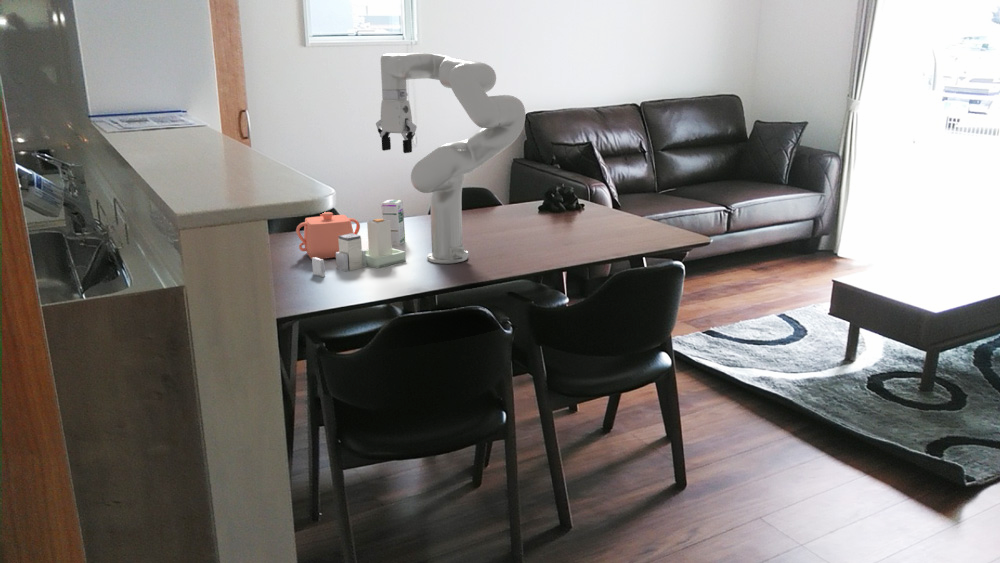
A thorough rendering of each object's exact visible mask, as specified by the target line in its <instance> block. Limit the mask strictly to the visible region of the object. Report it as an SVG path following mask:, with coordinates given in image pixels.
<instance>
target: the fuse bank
mask: <svg viewBox="0 0 1000 563" xmlns="http://www.w3.org/2000/svg"><path fill="white" fill-rule="evenodd" d="M353 233H354V232H353ZM353 233H350V234H345V235H340V236H339V238H338V241H339V252H336V257H335V263H336V264H335V265H336V269H337V270H340V271H343V272H348V271H349V272H350V271H354V270H357V269H363V268H365V267H367V265H366V251H365V250H366V249H363V248H362V247H363V246H362V238H361V235H359V234H357V235H356V234H353ZM311 264H312V275H314V276H316V277H320V278H323V277H326V273H325V271H326V270H325V259H320V258H317V257H313V258H312V259H311Z"/></svg>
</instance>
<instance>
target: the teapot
mask: <svg viewBox="0 0 1000 563" xmlns="http://www.w3.org/2000/svg"><path fill="white" fill-rule="evenodd" d="M352 222H353V223H355V224H356V228H355V230H353V223H352ZM302 227H304V228H303V235H302V233H301V232H300V231H301V230H300V229H301V228H302ZM360 229H361V224H360V222H359V221H358V220H357V219H356V218H351V217H347V215H345V214H336V215H335V214H334V213H333V212H330V211H327V212H326V211H325V212H324V213H322V214H320V213H319V216H311V217H310V216H309V217H305V219H304V221H303V222H300V223H299V224H298V225H297V226H296V229H295V232H296V235H297V237H298V239H299V240H300V241H301V243H299V245H298V249H299V251H301V252H306V254H307V256H308V257H309V258H310V259H311V260H312V258H313V257H317V258H320V259H323V260H326V259H331V258H336V252H339V241H338V238H339V236H340V235H345V234H350V233H353V234H356V235H359V234H358V233H359V232H360ZM303 246H304V247H303Z"/></svg>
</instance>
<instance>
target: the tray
mask: <svg viewBox="0 0 1000 563" xmlns="http://www.w3.org/2000/svg"><path fill="white" fill-rule="evenodd" d="M364 250H365V251H366V266H367V267H368V266H369V267H372V268H375V269H381V268H384V267H388V266H391V265H395V264H400V263H404V262H407V258H406V256H407V255H406V254H407V253H406V251H403V250H402V249H397V248H393V247H392V254H390V255H385V256H381V257H374V256H371V255H369V248H368V249H364Z"/></svg>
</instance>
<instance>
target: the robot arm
mask: <svg viewBox="0 0 1000 563" xmlns="http://www.w3.org/2000/svg"><path fill="white" fill-rule="evenodd" d="M380 70H381V71H380V74H381V75H380V77H381V98H382V99H381V104H380V119H379V120H378V121H377V122H376V123H375V125H376V129H377V132H378V133H379V137H380V138H381V151H384V152H385V151H390V150H391V136H390V134H401V137H402V138H403V140H402V152H403V154H409V153H412V152H413V144H412V142H413V141H412V140H413V139H414V136H416V131H417V128H418V127H417V125H416V124H414V123H413V116H412V110H411V108H412V107H411V104H410V101H409V99H408V96H409V95H408V94H409V93H408V92H407V89H408V88H407V80H420V79H421V80H422V79H423V80H425V79H431V80H435V81H436V80H437V81H439V82H440V84H441V85H442V86H443V87H444V88H448V89H451V90H452V93H453V94H454V96H455V97H456V99H457V100H458V102H459V104H460V105H461V106H462V108H463V109H464V111H465V112H466V114H467V115H468V117H469V119H470V120H471V122H472V123H473V124H475V126H476V127H479V128H481V129H480V130H478V131H477V132H476V133H474V134H473V135H472V136H470V137H468V138H466V139H464V140H459V141H453V142H448V143H445V144H442V145H440V146H438V147H437V148H435V149H434V150H432V151H431V152H429V154H427V155H425V156H424V157H423V158H422V159H420V160H419V161H417V162H416V163H415V165H414V166H413V168H412V170H411V173H410V182H411V184H412V186H413V187H414V189H415V190H417V191H418V192H420V193H423V194H428V193H429V194H430V193H431V197H430V234H431V239H430V240H431V252H430V253H428V254H427V256H426V258H427V260H428V262H430V263H434V264H442V265H443V264H447V265H449V264H456V263H458V264H459V263H460V262H464V261H466V260H468V258H469V256H470V251H468V250H465V245H463V220H462V219H463V217H462V208H463V207H462V204H463V203H462V194H463V193H462V192H463V186H464V185H463V184H464V179H465V175H467V174H470V173H473V172H475V171H476V170H477V169H479V168H480V167H482V166H483V165H485V164H486V163H487V162H489V161H490V160H492V159H493V158H494V157H496V156H497V155H499V154H500V153H501V152H503V151H504V150H506V149H507V148H509V147H510V146H511V145H512V144H513V143H514V142H516V140H517V139H518V138H519V136H520V135H521V133H522V131H523V129H524V126H525V121H526V109H525V108H526V107H525V106H524V103H523V102H522V101H521V99H519V98H517V96H516V97H515V96H513V95H509V94H508V95H507V94H503V95H491V96H489V95H488V94H487V93H488V92H489V91H491V90H492V89H493V88H494V86H495V84H496V83H497V74H496V71H495V70H494V69H493V67H492V66H490V65H489V64H487V63H484V62H481V61H473V60H468V59H461V58H460V59H459V58H454V57H451V56H448V55H442V54H436V53H430V52H410V53H409V52H408V53H385V54H384V53H383V54H382V55H381V57H380Z"/></svg>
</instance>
